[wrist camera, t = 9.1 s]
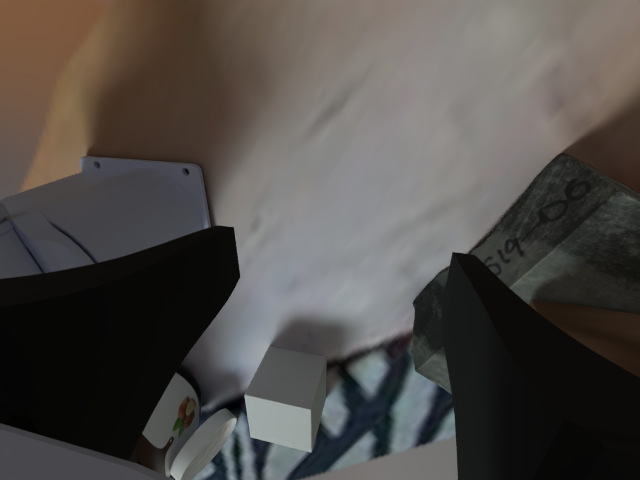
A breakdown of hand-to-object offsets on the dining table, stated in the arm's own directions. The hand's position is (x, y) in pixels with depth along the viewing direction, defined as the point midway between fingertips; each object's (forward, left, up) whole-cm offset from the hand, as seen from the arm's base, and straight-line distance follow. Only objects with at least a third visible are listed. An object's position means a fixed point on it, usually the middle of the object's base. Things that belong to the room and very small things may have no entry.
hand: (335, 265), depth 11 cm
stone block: (+10, -6, -11) cm, 16 cm away
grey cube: (-5, -18, -10) cm, 21 cm away
